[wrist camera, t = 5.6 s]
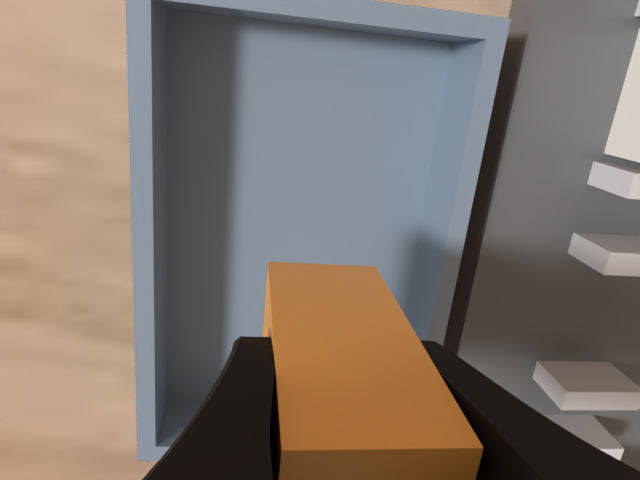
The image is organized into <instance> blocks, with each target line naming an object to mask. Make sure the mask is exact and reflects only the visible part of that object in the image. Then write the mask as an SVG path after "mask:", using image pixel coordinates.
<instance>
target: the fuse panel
mask: <svg viewBox="0 0 640 480" xmlns="http://www.w3.org/2000/svg"><path fill="white" fill-rule="evenodd" d="M509 18H511V21H510V26H509V31H508V35H507V40H506V45H505V50H504V55H503V60H502V64H501V69H500V74H499V79H498V84H497V88H496V93H495V98H494V103H493V108H492V113H491V117H490V122H489V127H488V132H487V137H486V141H485V146H484V151H483V156H482V161H481V166H480V170H479V175H478V180H477V185H476V190H475V194H474V199H473V204H472V209H471V214H470V218H469V223H468V228H467V233H466V238H465V243H464V247H463V252H462V257H461V262H460V267H459V271H458V276H457V281H456V286H455V291H454V296H453V300H452V305H451V310H450V315H449V320H448V324H447V329H446V334H445V339H444V344H443V347H445V348H447V349H448V350H450V351H451V352H453V353H454V354H455V355H457V356H458V357H460V358H461V359H463V360H464V361H465V362H467V363H468V364H470V365H471V366H473V367H474V368H475V369H477V370H478V371H480V372H481V373H482V374H484V375H485V376H487V377H488V378H489V379H491V380H492V381H494V382H495V383H496V384H498V385H499V386H501V387H502V388H504V389H505V390H506V391H508V392H509V393H511V394H512V395H514V396H515V397H517V398H518V399H520V400H521V401H522V402H524V403H525V404H527V405H528V406H530V407H531V408H533V409H535V410H536V411H538V412H539V413H541V414H542V415H544V416H545V417H547V418H548V419H550V420H552V421H553V422H555V423H556V424H558V425H560V426H561V427H563V428H564V429H566V430H568V431H569V432H571V433H572V434H574V435H576V436H577V437H579V438H581V439H582V440H584V441H586V442H587V443H589V444H591V445H593V446H594V447H596V448H598V449H600V450H601V451H603V452H605V453H607V454H609V455H611V456H612V457H614V458H616V459H618V460H620V461H622V462H623V463H625V464H627V465H629V466H631V467H633V468H634V469H636V470H638V471H640V163H639V162H635V161H631V160H627V159H623V158H620V157H616V156H612V155H608V154H604V151H605V147H606V144H607V140H608V137H609V133H610V130H611V126H612V123H613V119H614V116H615V112H616V109H617V105H618V102H619V98H620V95H621V91H622V88H623V85H624V81H625V78H626V74H627V71H628V67H629V64H630V60H631V57H632V53H633V50H634V46H635V43H636V39H637V36H638V32H639V29H640V0H513V1H512V5H511V10H510V15H509Z"/></svg>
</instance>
